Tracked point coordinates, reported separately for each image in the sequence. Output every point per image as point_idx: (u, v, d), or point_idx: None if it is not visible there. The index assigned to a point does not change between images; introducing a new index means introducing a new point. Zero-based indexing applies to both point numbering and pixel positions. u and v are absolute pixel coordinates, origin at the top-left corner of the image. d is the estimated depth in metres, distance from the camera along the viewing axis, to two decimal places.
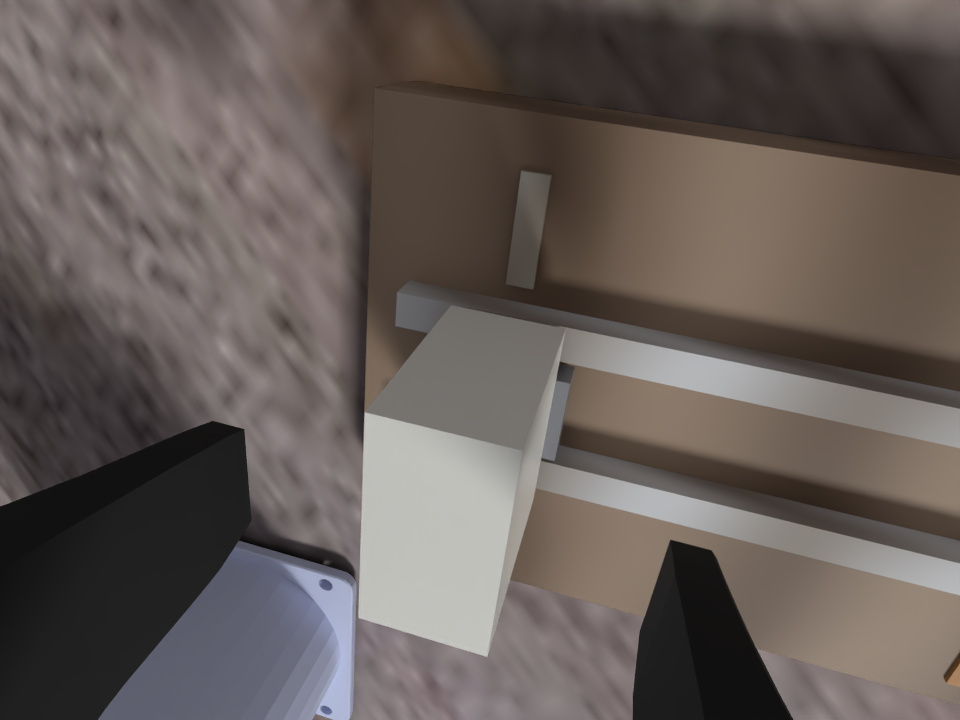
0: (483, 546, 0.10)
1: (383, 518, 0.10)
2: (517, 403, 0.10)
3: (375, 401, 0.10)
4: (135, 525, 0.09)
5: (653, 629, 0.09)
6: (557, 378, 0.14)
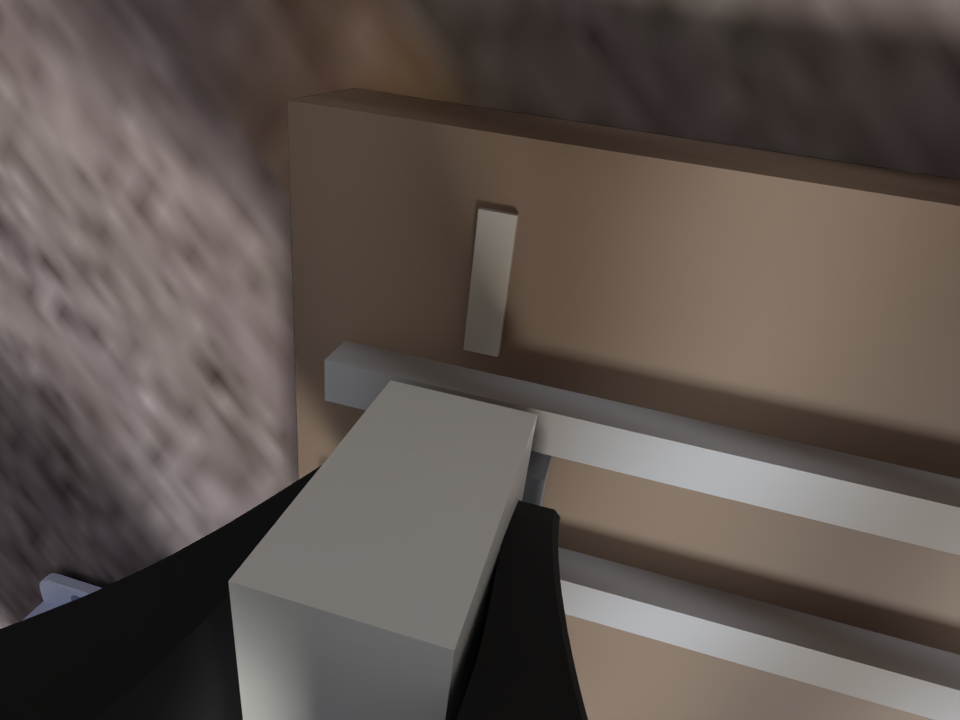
0: None
1: (270, 710, 0.07)
2: (457, 553, 0.07)
3: (250, 557, 0.07)
4: None
5: None
6: (528, 473, 0.11)
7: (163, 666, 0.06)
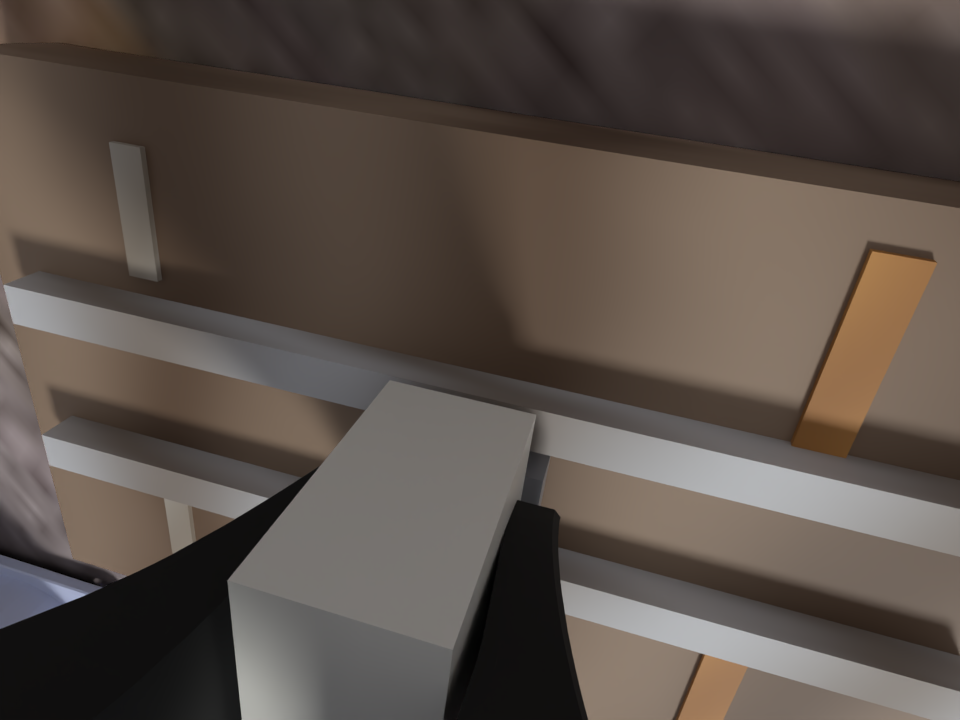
0: None
1: (269, 709, 0.07)
2: (456, 552, 0.07)
3: (248, 557, 0.07)
4: None
5: None
6: (527, 473, 0.11)
7: (162, 666, 0.06)
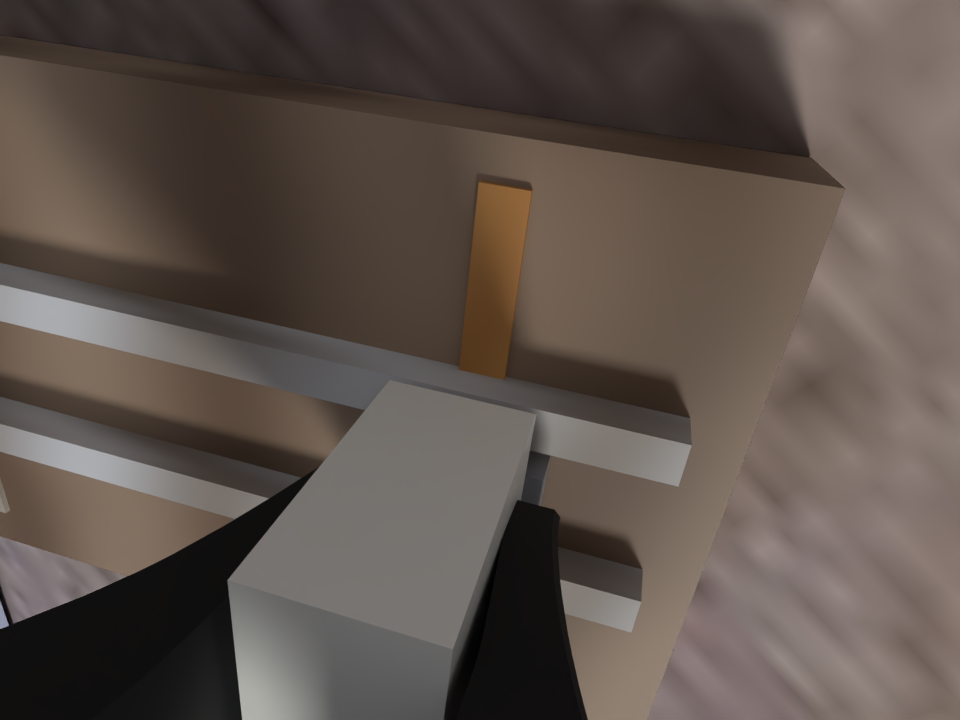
0: None
1: (269, 709, 0.07)
2: (456, 552, 0.07)
3: (249, 556, 0.07)
4: None
5: None
6: (527, 472, 0.11)
7: (162, 666, 0.06)
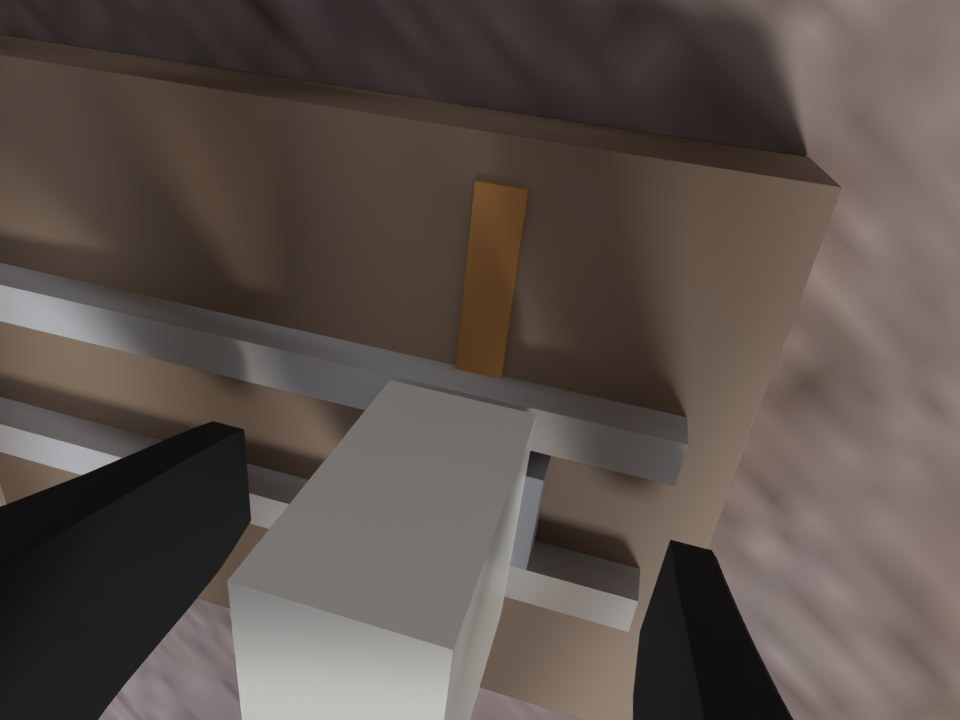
0: None
1: (269, 710, 0.07)
2: (456, 553, 0.07)
3: (249, 557, 0.07)
4: (135, 525, 0.09)
5: (653, 629, 0.09)
6: (528, 472, 0.11)
7: None
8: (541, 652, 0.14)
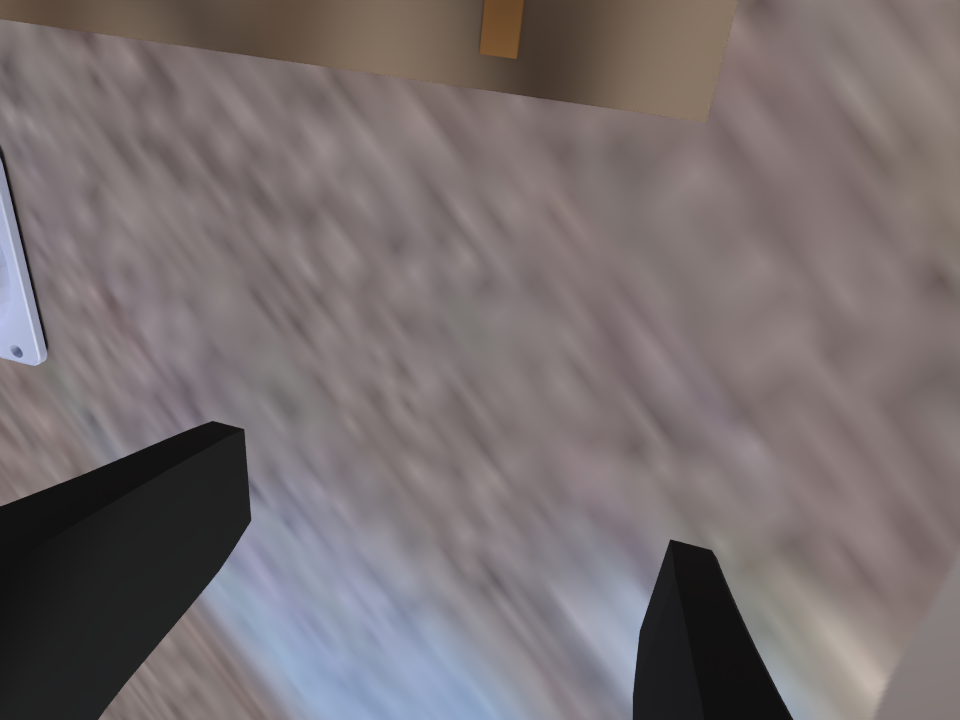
0: None
1: None
2: None
3: None
4: (135, 525, 0.09)
5: (653, 629, 0.09)
6: None
7: None
8: (605, 15, 0.13)
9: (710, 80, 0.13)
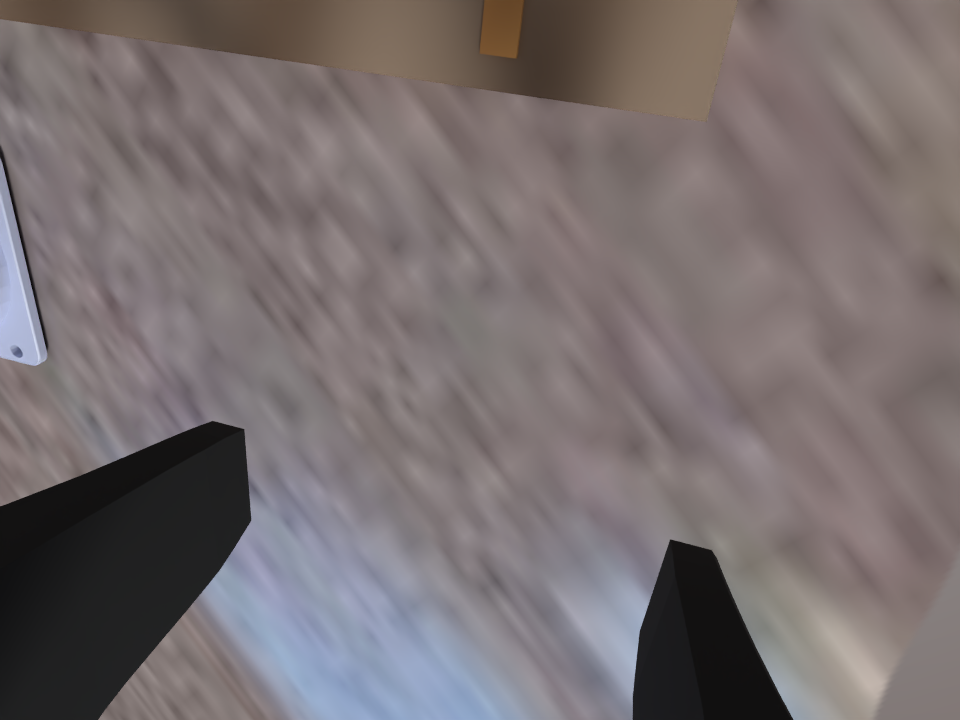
0: None
1: None
2: None
3: None
4: (135, 525, 0.09)
5: (653, 629, 0.09)
6: None
7: None
8: (605, 14, 0.13)
9: (710, 80, 0.13)
